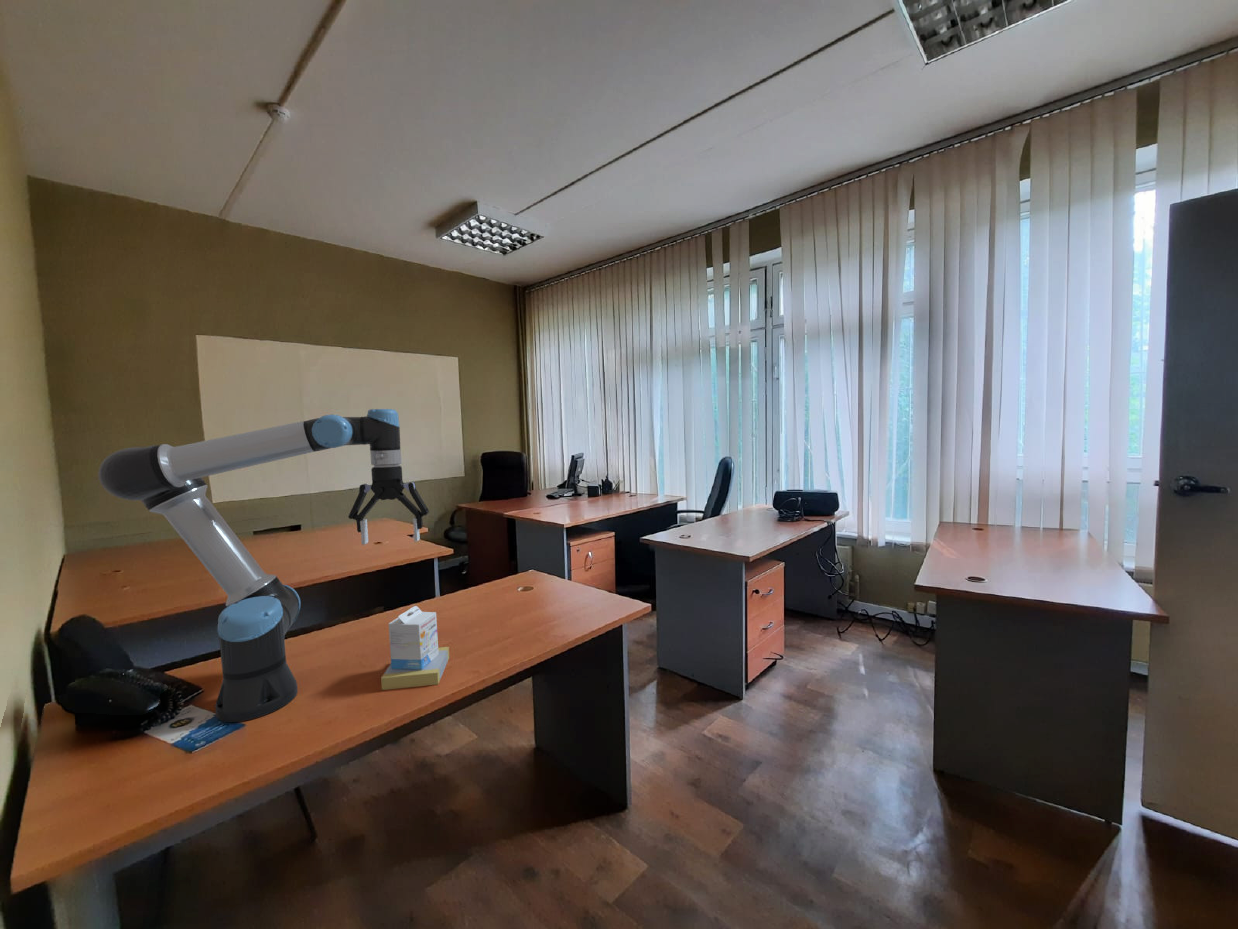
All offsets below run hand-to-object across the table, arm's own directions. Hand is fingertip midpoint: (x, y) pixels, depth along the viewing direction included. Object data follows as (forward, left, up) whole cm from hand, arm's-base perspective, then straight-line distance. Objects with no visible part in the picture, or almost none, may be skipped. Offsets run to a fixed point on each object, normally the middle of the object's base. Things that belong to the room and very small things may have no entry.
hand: (391, 542), depth 131 cm
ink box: (+8, -13, -29) cm, 33 cm away
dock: (+8, -13, -32) cm, 35 cm away
